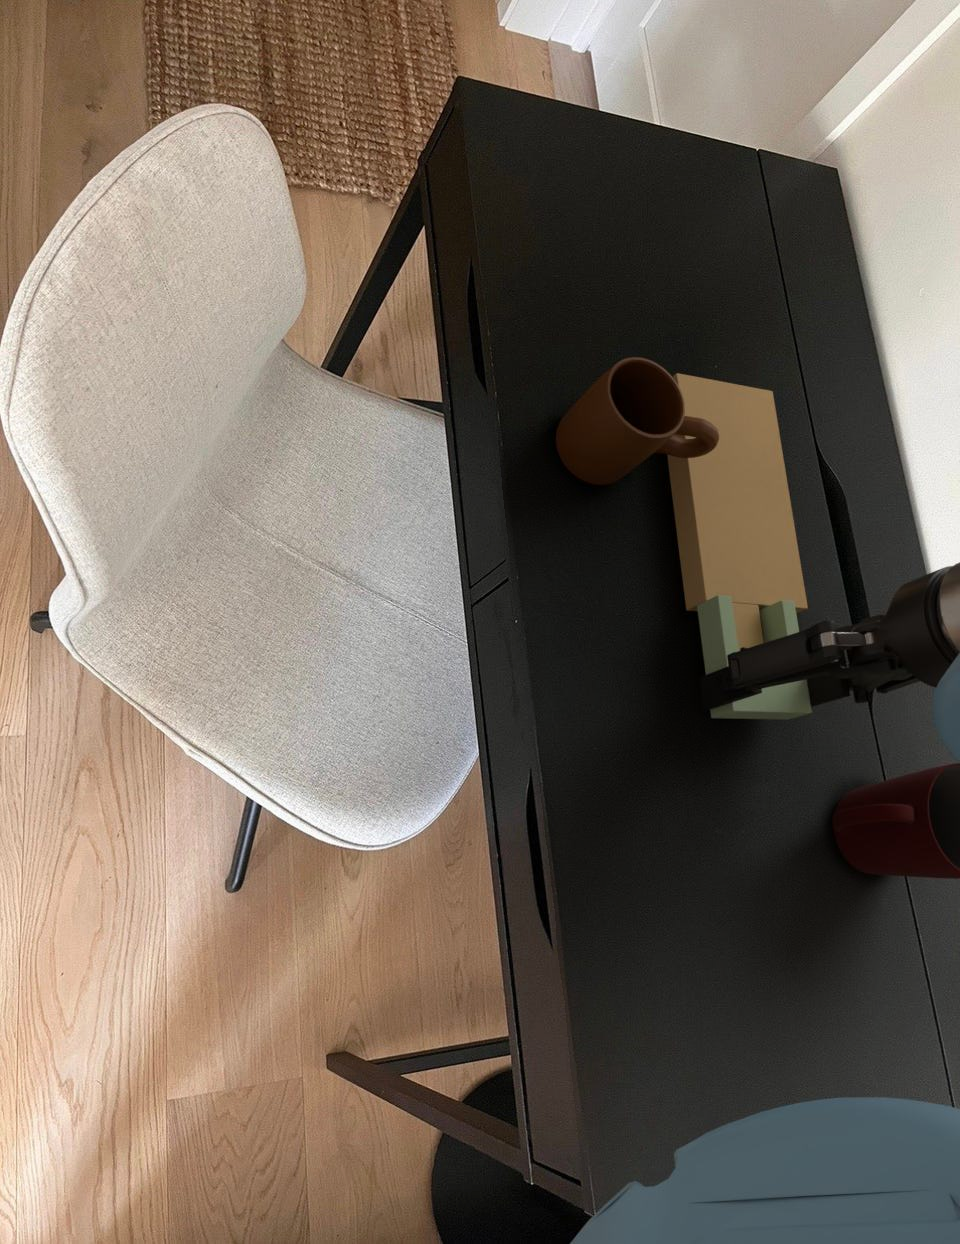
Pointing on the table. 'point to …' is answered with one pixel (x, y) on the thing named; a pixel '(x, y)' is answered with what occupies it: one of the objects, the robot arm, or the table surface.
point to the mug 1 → (629, 423)
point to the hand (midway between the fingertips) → (748, 694)
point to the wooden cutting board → (736, 507)
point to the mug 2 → (903, 825)
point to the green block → (723, 641)
